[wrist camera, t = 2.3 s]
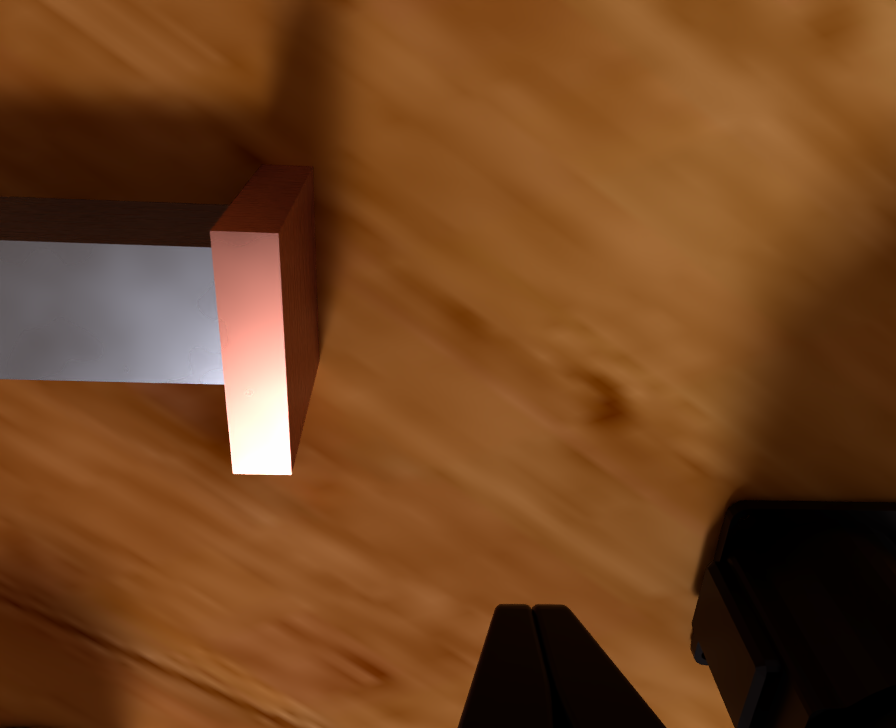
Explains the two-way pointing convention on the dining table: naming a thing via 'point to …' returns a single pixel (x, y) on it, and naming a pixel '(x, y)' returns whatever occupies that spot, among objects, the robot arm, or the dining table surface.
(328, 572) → the dining table surface
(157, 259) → the l-shaped block
